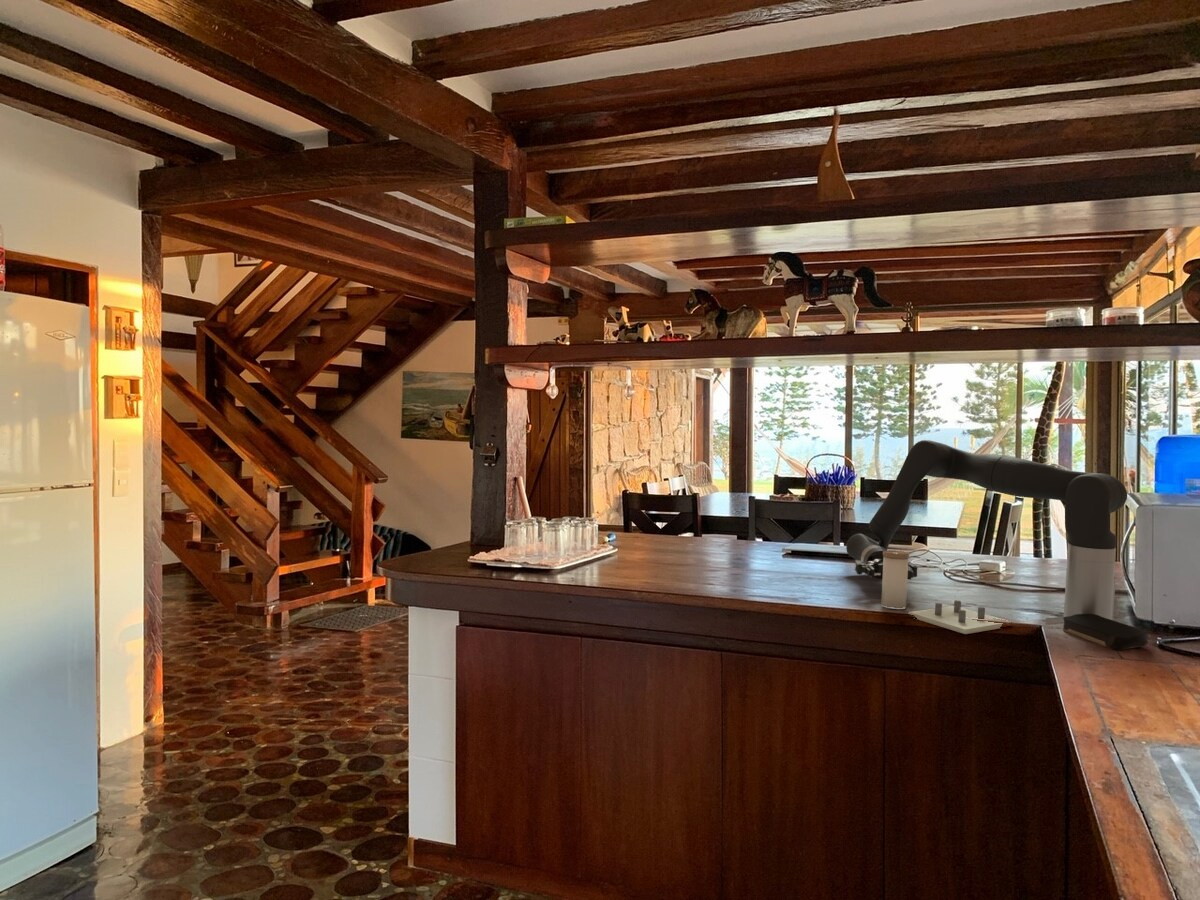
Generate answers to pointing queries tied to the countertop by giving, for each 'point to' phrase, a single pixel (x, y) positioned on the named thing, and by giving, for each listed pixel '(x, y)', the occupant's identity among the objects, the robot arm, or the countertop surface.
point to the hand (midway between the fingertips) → (891, 574)
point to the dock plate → (957, 618)
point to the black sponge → (1105, 631)
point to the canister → (894, 578)
